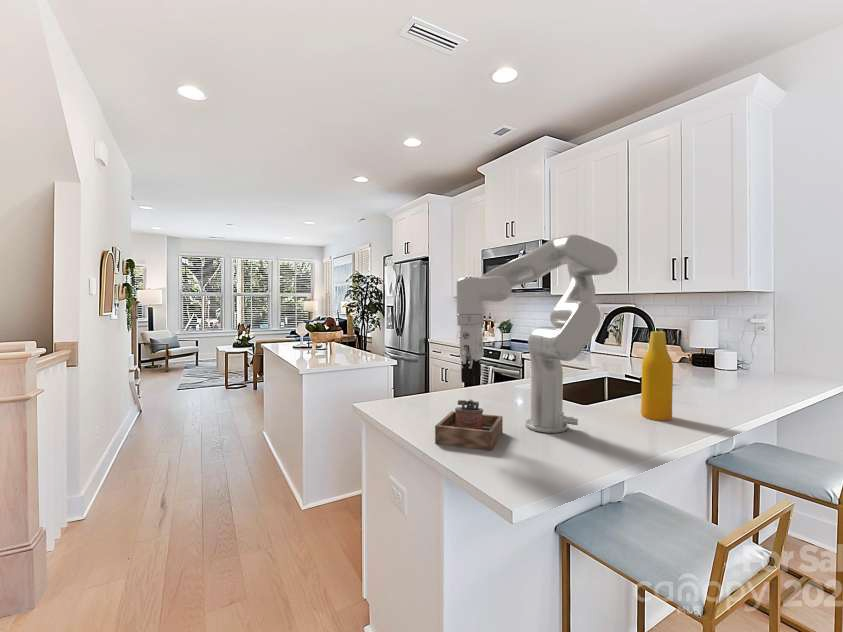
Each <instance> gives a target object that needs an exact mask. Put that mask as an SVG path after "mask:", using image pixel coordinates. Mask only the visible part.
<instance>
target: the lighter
mask: <svg viewBox="0 0 843 632" xmlns="http://www.w3.org/2000/svg"><path fill="white" fill-rule="evenodd" d="M457 405H458V406H457V407H455V409H454V411H455V412H456V427H460V428H469V429H478V430H482V414H484V409H483V408H482V407H479V406H480V401H474V400H473V399H468V400H466V399H458V400H457ZM459 406H460V407H459ZM465 406H466V407H465Z"/></svg>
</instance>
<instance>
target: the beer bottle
mask: <svg viewBox="0 0 843 632" xmlns="http://www.w3.org/2000/svg"><path fill="white" fill-rule="evenodd" d="M666 337H667V336H666V332H665V331H650V336H649V343H648V348H647V352H646V353H645V354H644V356H643V358H642V359H643V360H642V362H641V363H642V364H641V398H640V399H641V404H640V405H641V406H640V414H641V416H642V418H645V419H648V420H651V421H658V422H659V421H661V422H663V421H664V422H665V421H667V422H668V421H670V420H672V417H673V387H674V386H673V385H674V384H673V383H674V380H673V379H674V377H673V375H674V364H673V360H672V357H671V355H670V354H669V351H668V346H667V340H666V339H667V338H666Z"/></svg>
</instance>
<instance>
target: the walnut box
mask: <svg viewBox="0 0 843 632" xmlns="http://www.w3.org/2000/svg"><path fill="white" fill-rule="evenodd" d="M503 424H504V423H503V415H496V414H495V415H493V414H485V413H482V430H478V429H469V428H460V427H456V411H455V410H454V411H453V410H452V411H450V412H449V413H448V414H447V415H445V416H444V417H443V418H442V419H441V420H440V421H439V422H438V423H436V424H435V426H434V433H435V435H434V437H435V438H434V440H435V441H434V444H435V445H436V444H437V445H445V446H451V447H452V446H454V447H460V448H461V447H462V448H466V449H467V448H468V449H476V450H484V451H491V452H492V451H493V449H494V448H495V445H497V443H498V441H499V439H500V437H501V436H502V434H503V431H504V430H503V429H504V428H503Z"/></svg>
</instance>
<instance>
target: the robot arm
mask: <svg viewBox="0 0 843 632" xmlns="http://www.w3.org/2000/svg"><path fill="white" fill-rule="evenodd" d="M618 261H619V260H618V256H617V253H616V251H614V249H613V248H612V247H610V246H608V245H606V244H603V243H600V242H599V241H596V240H593V239H590V238H588V237H585V236H582V235H579V234H570V235H569V234H568V235H565V236H560V237H556V238H552V239H550V240H549V241H546V242H544V243H543V244H541V245H539V246H537V247H536V248H534V249H532V250H531V251H529V252H527V253H525V254H523V255H522V256H519V257H517V258H515V259H512V260H511V261H508V262H507V263H503V264H502V265H499V266H497V267H495V268H493V269H492V270H489V271H488V272H486V273H483V274H482V275H481V276H479V277H478V276H477V277H476V276H475V277H473V276H470V277H469V276H468V277H467V276H466V277H460V278H458V279H457V280H456V313H457V315H456V317H457V318H456V320H457V321H456V322H457V324H456V325H457V326H458V327H460V328H459V358H460V363H461V364H460V372H461V377H460V378H461V383H466V384H472V383H474V377H481V376H482V363H481V362H482V360H481V359H482V358H483V357H484V352H485V350H484V337H483V327H482V326H484V325H485V324H484V323H485V322H484V303H485V302H486V303H489V302H490V303H499V302H504V301H506V300H507V299H508V298H509V297H510V296H511V294H512V291H513V287H516V286H520V285H524V284H529V283H532V282H534V281H537V280H539V279H541V278H542V277H545V276H546V275H548V273H551V272H552V271H554V270H555V269H557V268H559V267H562V266H563V265H566V266H567V271H568V275H569V284H568V288H567V289H566V290H565V292H564V293H563V295H562V296H561V297H560V298H559V300H558V302H557V303H556V305H555V306H554V307H553V309H552V310H551V312H550V317H549V319H550V323H551V324H552V326H539V327H537V328H535V329H533V330H532V331H531V332H530V334H529V336H528V341H527V346H528V352H529V359H530V369H531V370H530V418H528V419H527V420H525V426H526V427H527V428H528V429H530V430H532V431H535V432H539V433H546V434H547V433H548V434H549V433H550V434H551V433H552V434H557V433H563V432H565V431H567V430H568V428H569V427H568V426H569V425H572V426H579V425H578V421H579V419H578V418H575V417H573V416H566V415H565V413H564V412H565V411H563V401H564V400H563V395H564V394H563V393H564V392H563V390H564V389H563V388H564V387H563V385H564V380H563V379H564V371H563V365H562V362H561V361H563V362H570V361H573V360H574V359H576V358H577V357H578V356H579V355H580V354H581V353H582V352H583V350H584V349H585V348H586V346H587V344H588V343H589V341H590V340H591V339H592V337H593V336H594V334H595V333H596V331H597V329H598V328H599V325H600V323H601V318H602V317H601V311H600V308H599V307H598V305H597V304H596V303H594V302H593V300H594V299H595V296H596V287H595V286H596V285H595V283H594V280H593V276H604V275H608V274H609V273H612V272H613V271H614V270H615V269H616V268H617V265H618Z"/></svg>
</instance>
